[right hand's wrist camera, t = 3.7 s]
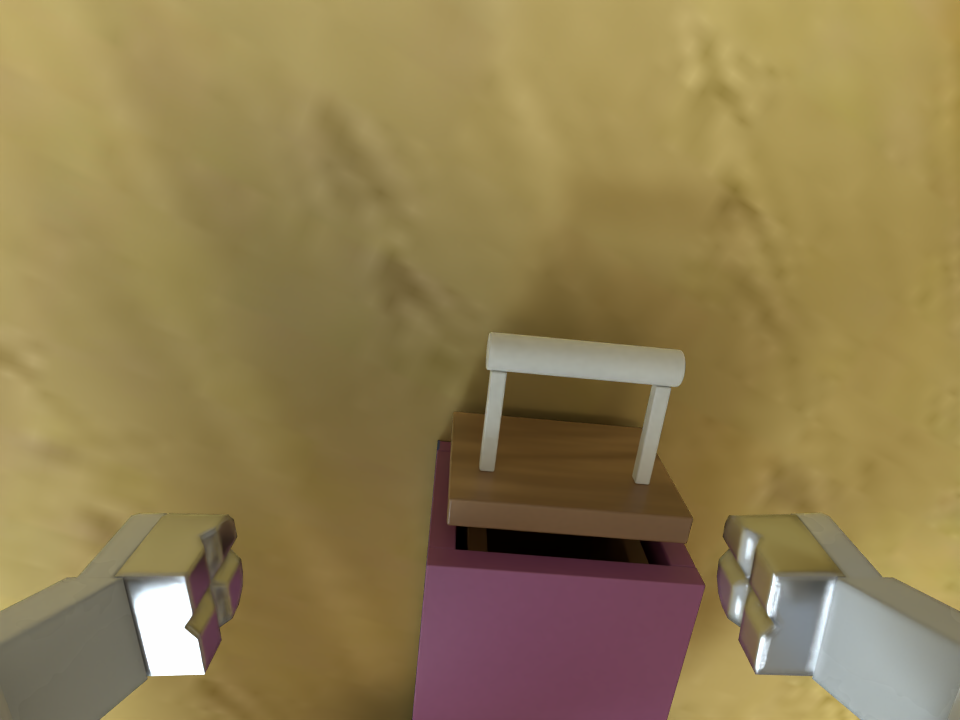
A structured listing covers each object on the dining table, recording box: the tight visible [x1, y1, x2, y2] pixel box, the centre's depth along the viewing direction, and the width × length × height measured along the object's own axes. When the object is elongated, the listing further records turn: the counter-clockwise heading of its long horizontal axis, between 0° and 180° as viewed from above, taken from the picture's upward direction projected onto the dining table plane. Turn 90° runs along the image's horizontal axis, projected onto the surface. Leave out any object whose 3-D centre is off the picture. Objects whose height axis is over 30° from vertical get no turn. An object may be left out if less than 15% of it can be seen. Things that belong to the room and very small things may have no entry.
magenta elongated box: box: [412, 440, 705, 720], centre depth 31 cm, size 21×10×10 cm, turn 174°
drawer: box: [447, 332, 693, 564], centre depth 29 cm, size 25×9×7 cm, turn 174°
